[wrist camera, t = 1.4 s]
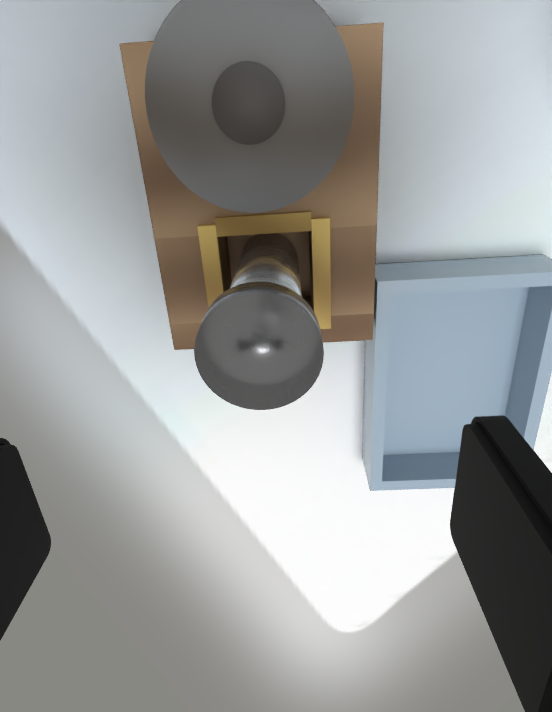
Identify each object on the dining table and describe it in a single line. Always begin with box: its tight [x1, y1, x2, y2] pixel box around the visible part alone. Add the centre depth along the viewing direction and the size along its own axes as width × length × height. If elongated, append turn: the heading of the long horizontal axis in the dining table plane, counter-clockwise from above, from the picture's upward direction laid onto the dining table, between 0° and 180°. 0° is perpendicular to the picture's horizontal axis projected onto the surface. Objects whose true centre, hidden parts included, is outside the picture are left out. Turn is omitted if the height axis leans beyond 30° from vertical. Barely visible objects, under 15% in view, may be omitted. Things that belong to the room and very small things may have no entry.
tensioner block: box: [120, 0, 383, 350], centre depth 20 cm, size 14×10×8 cm
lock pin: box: [194, 233, 324, 410], centre depth 19 cm, size 4×4×11 cm
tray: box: [363, 255, 552, 491], centre depth 27 cm, size 13×9×3 cm
